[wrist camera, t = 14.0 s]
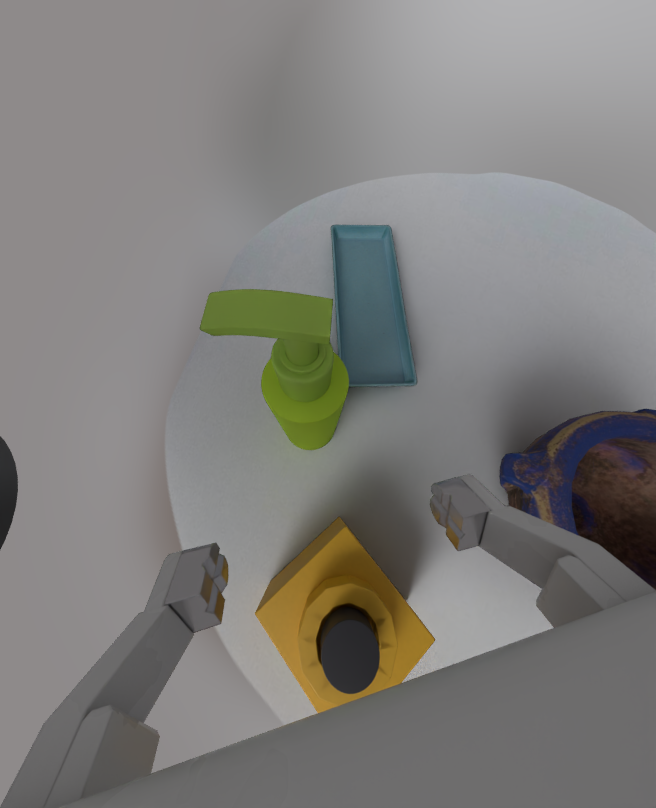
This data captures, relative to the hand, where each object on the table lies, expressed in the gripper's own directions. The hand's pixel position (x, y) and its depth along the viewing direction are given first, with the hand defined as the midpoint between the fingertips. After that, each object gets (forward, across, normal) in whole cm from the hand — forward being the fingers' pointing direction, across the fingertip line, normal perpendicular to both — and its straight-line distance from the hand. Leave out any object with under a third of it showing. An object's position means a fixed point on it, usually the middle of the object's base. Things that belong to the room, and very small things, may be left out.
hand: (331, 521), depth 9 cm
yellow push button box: (+7, 0, -19) cm, 20 cm away
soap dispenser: (+19, 0, -7) cm, 20 cm away
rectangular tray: (+29, +12, +3) cm, 32 cm away
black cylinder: (+1, 0, -14) cm, 14 cm away
